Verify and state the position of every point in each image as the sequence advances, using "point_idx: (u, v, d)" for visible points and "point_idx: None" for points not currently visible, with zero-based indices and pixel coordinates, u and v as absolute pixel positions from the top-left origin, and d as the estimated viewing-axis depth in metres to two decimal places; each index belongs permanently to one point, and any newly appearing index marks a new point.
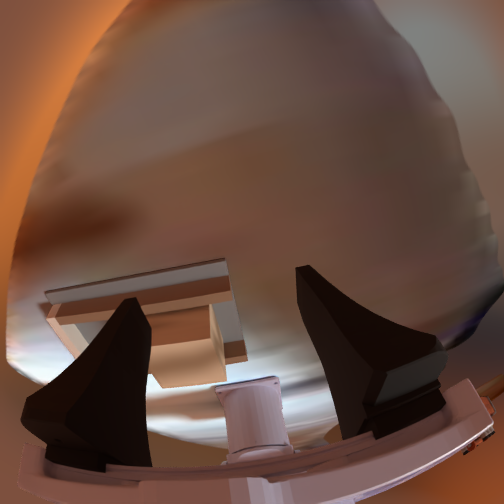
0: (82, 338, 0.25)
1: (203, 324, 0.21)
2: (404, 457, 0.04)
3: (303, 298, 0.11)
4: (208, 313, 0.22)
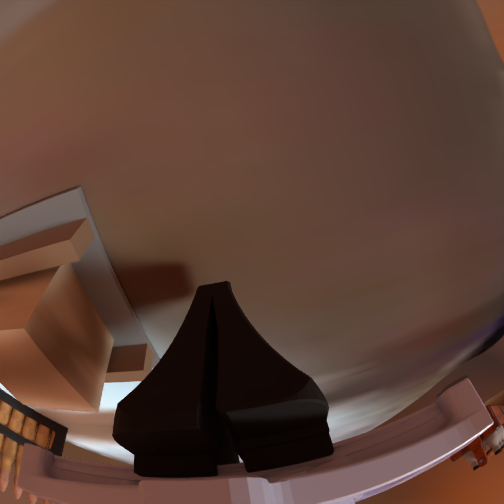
0: None
1: (30, 303, 0.09)
2: (404, 457, 0.04)
3: None
4: (47, 285, 0.10)
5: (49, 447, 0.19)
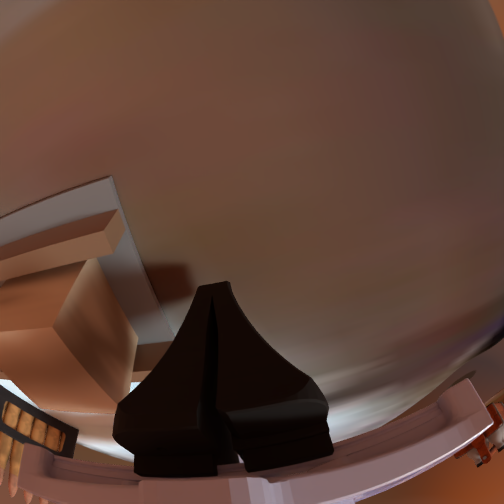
0: None
1: (57, 300, 0.09)
2: (404, 457, 0.04)
3: None
4: (74, 280, 0.10)
5: (60, 450, 0.19)
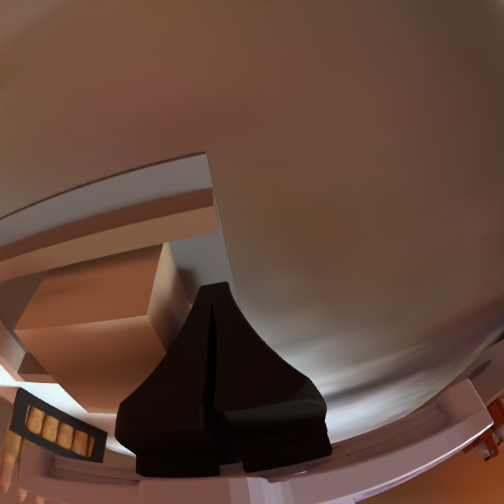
0: None
1: (140, 285, 0.09)
2: (404, 457, 0.04)
3: None
4: (156, 264, 0.10)
5: (88, 455, 0.19)
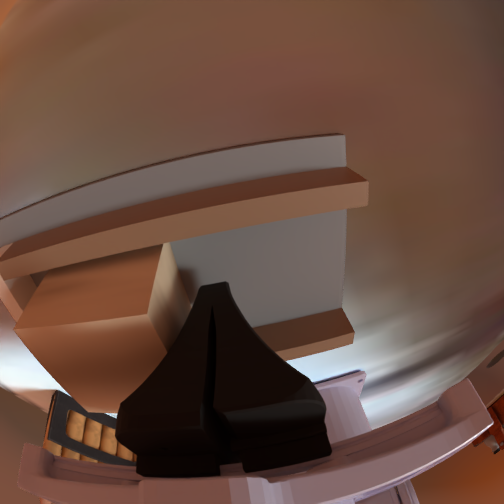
0: None
1: (140, 284, 0.09)
2: (404, 457, 0.04)
3: None
4: (156, 263, 0.10)
5: (134, 459, 0.20)
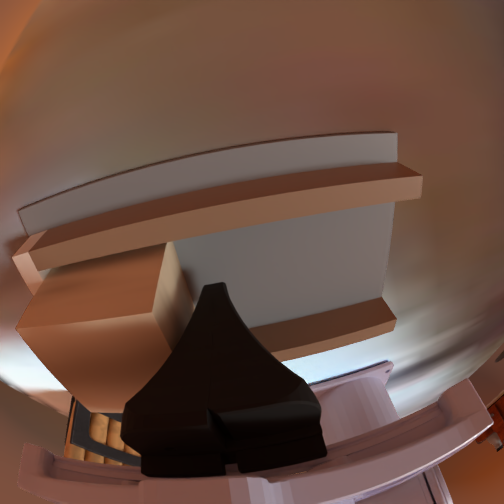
0: None
1: (144, 282, 0.09)
2: (404, 457, 0.04)
3: None
4: (160, 261, 0.10)
5: None
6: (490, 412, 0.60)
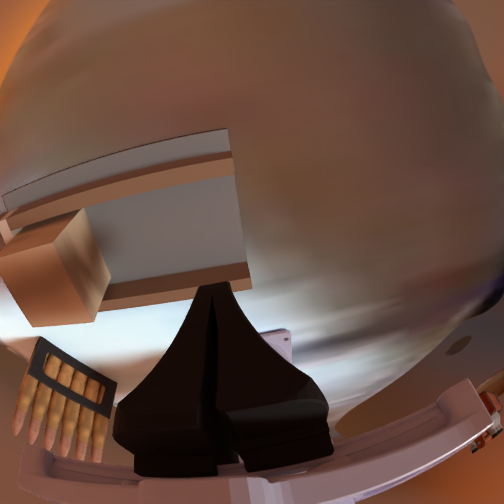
0: None
1: (57, 231, 0.14)
2: (404, 457, 0.04)
3: None
4: (69, 221, 0.15)
5: (98, 402, 0.25)
6: None
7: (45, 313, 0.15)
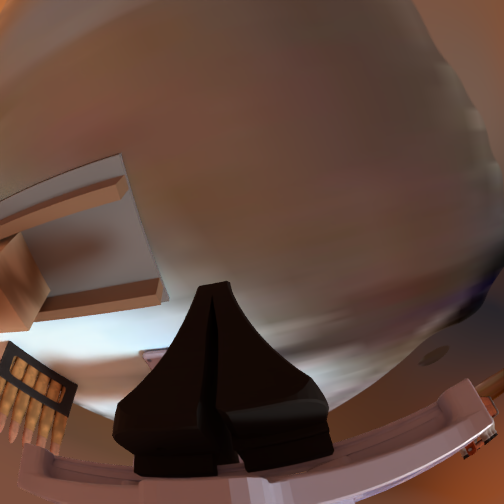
0: None
1: None
2: (404, 457, 0.04)
3: None
4: (5, 246, 0.15)
5: (59, 402, 0.25)
6: None
7: None
